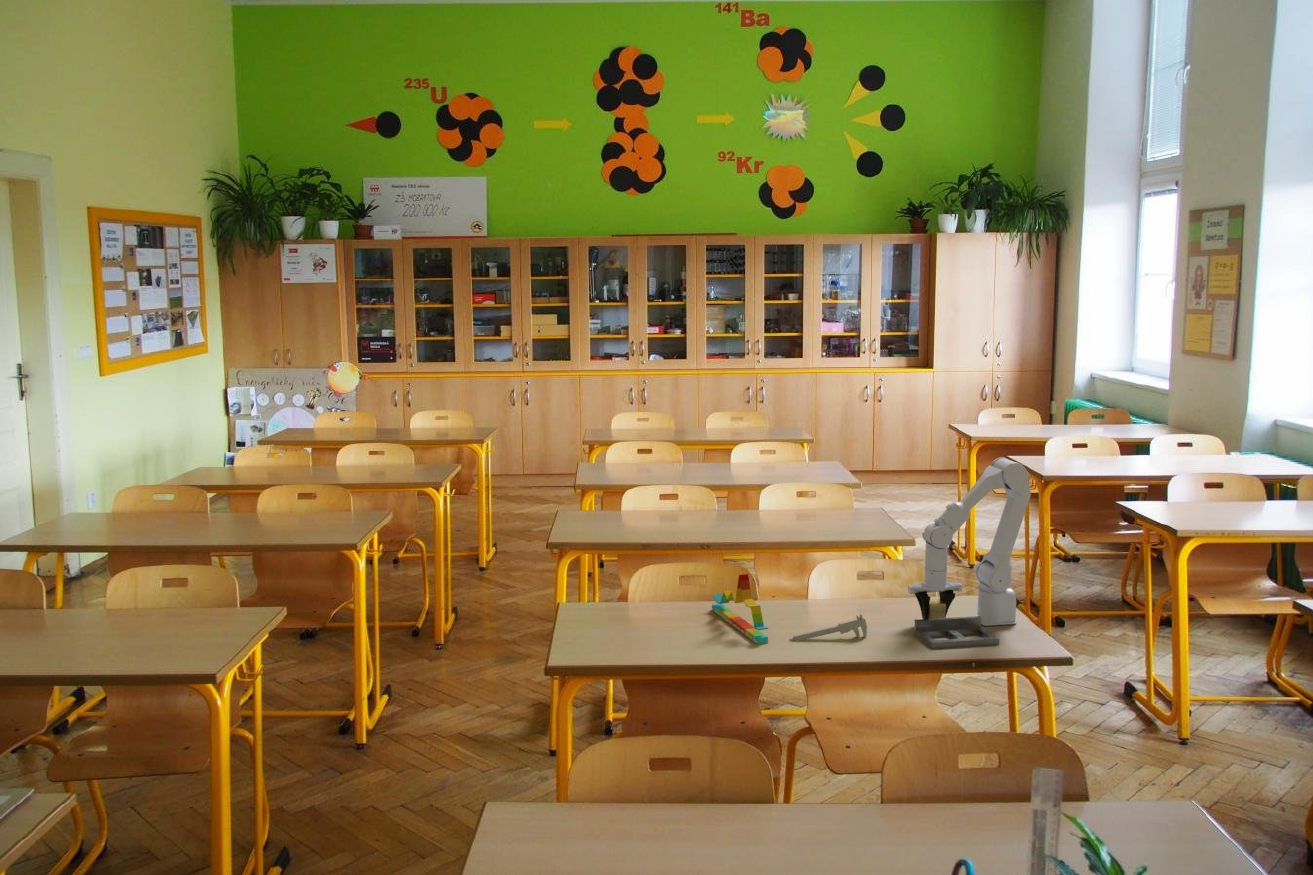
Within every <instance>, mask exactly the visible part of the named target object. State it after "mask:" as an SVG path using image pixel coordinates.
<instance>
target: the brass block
mask: <svg viewBox="0 0 1313 875" xmlns="http://www.w3.org/2000/svg"><path fill="white" fill-rule="evenodd" d="M945 617H946V618H947V615H946V603H944V602H943V601H941V600H940V598H930V602H929V607H928V619H937V618H945ZM921 619H923V618H922V617H921Z"/></svg>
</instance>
